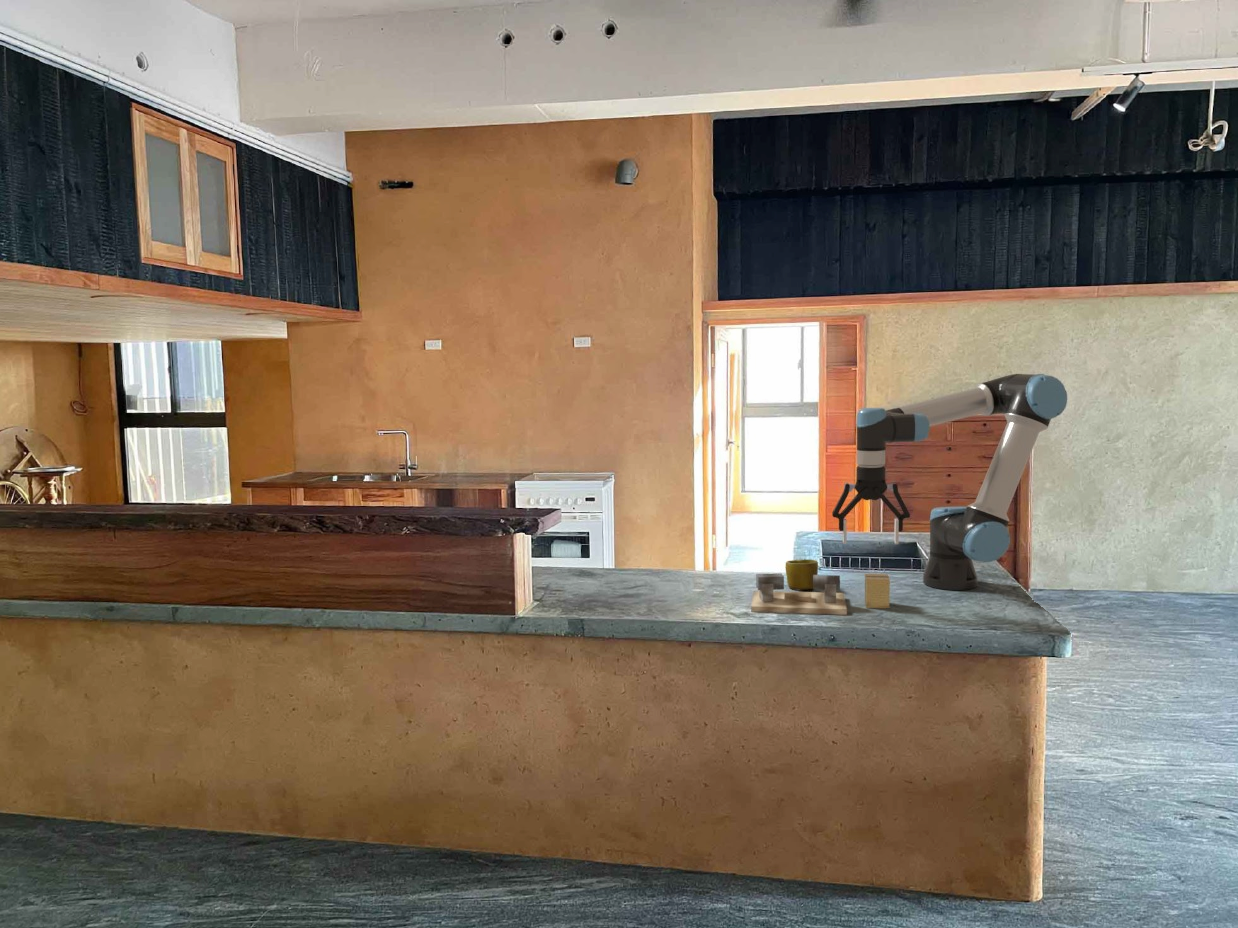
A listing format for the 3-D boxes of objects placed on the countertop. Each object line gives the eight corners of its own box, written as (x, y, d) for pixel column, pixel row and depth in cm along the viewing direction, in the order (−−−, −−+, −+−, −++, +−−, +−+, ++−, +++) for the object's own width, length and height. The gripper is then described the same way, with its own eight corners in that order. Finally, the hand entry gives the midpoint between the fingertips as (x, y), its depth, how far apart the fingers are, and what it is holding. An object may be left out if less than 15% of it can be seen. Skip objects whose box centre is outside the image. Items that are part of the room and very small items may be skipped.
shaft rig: (843, 598, 252) (843, 568, 251) (846, 614, 236) (846, 583, 235) (753, 595, 257) (753, 566, 256) (751, 611, 241) (751, 580, 240)
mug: (824, 587, 257) (813, 553, 259) (790, 596, 259) (779, 563, 261) (826, 584, 269) (815, 552, 270) (793, 593, 271) (783, 562, 273)
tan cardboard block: (864, 601, 248) (864, 573, 247) (887, 602, 247) (887, 573, 246) (866, 608, 242) (866, 578, 241) (889, 608, 241) (889, 579, 240)
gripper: (917, 463, 242) (916, 540, 245) (822, 464, 247) (822, 539, 250) (921, 467, 235) (920, 546, 238) (824, 467, 240) (824, 545, 242)
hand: (870, 543), depth 244 cm, fingers open, 13 cm apart
